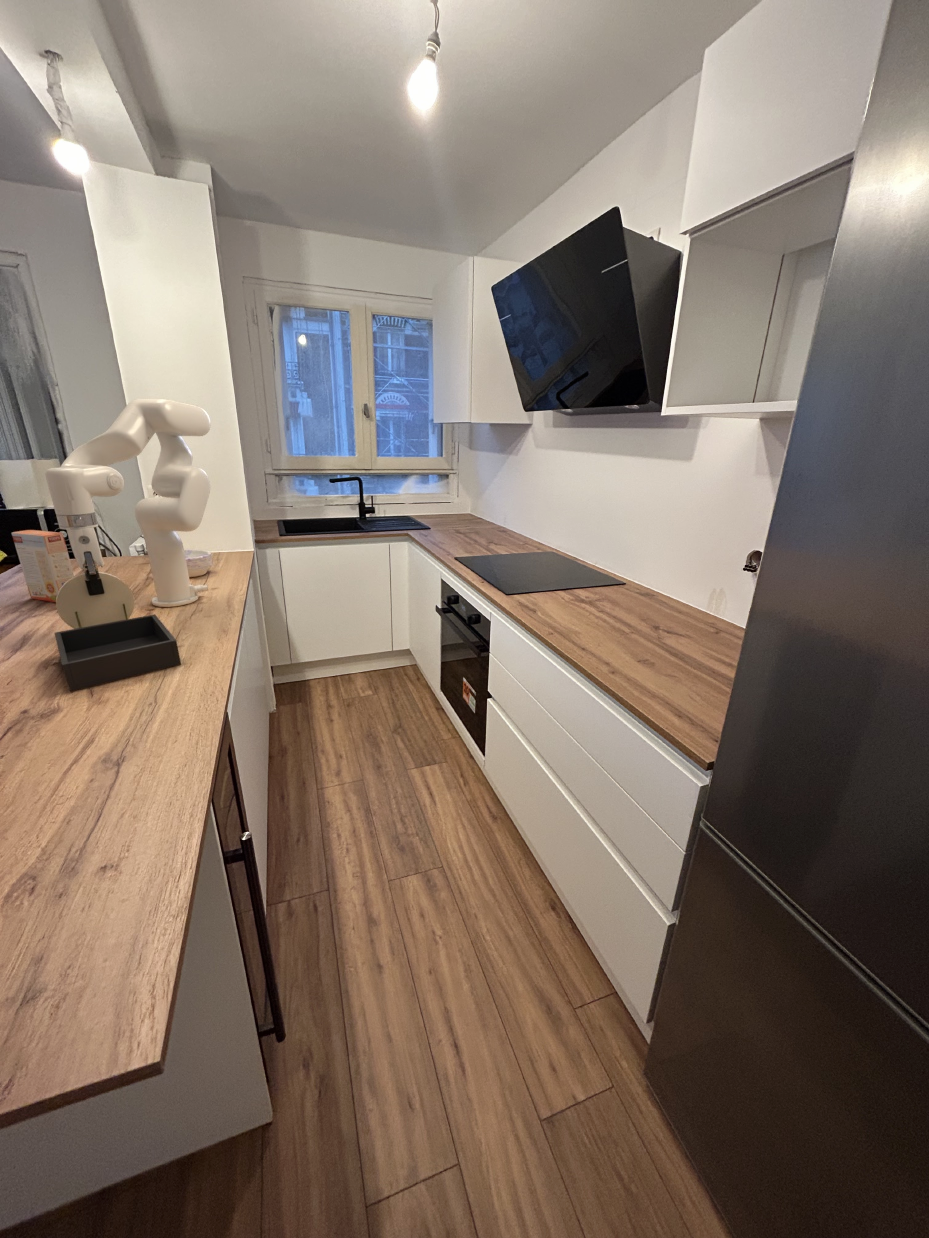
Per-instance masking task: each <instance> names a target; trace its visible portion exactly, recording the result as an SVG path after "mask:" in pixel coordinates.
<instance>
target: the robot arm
mask: <svg viewBox="0 0 929 1238" xmlns="http://www.w3.org/2000/svg"><path fill="white" fill-rule="evenodd" d="M211 424H212V422H211V418H210V416H209V414H208V413H207V412H206V410H205V409H204V408H203V407H201V406H198V405H195V404H190V403H185V402H181V401H177V400H173V399H167V398H166V399H165V398H136V399H133V400H131V401H130V402H128V403H127V404H126V406H125V407H124V408H123V409H122V411H121V412H120V413H119V415H118V416H117V417H116V419H115V420H114V421H113V422H112V424H111V425H110V426H109V428H108V429H107V430H106V431H104V432H103V433H101V434H99V435H96V436H95V437H93V438H91V439H89V440H88V441H86V442H85V443H83V444H80V445H79V446H78V447H76V448H75V449H74V450H73V451H71V453H69V455H67V457H66V458H65V459H64V461H63V462H62V463H61V465H60V467H51V468H48V469H47V470H45V473H44V474H45V479H46V483H47V486H48V490H49V491H48V492H49V494H50V498H51V502H52V505H53V509H54V512H55V515H56V520H57V524H58V528H59V529H60V530H66V533H67V536H68V540H69V544H70V547H71V550H72V553H73V556H74V558H75V561H76V563H77V565H78V567H79V568H80V569H81V570H82V572H83V573H85V577H86V580H85V582H86V586H87V589H88V593H89V595H90V596H93V595H100V594H104V588H103V584H102V580H101V578H100V576H99V572H100V571H99V567H101V568H105V563H104V559H103V555H102V551H101V548H100V543H99V540H98V536H97V533H96V531H95V528H97V527H99V522H98V518H97V515H96V510H95V506H94V503H93V502H94V501H93V497H101V498H103V497H104V498H108V497H110V498H111V497H114V496H117V495H119V494H120V493H121V492H122V491H123V490H124V488H125V480H124V479H125V478H124V477H123V475H122V474H121V472H119V471H118V470H116V469H115V468H113V467H111V466H110V465H114V464H116V463H121V462H125V461H128V460H131V459H134V458H136V457H138V456H140V455H141V453H142V452H143V451H144V449H145V448H146V446H147V445H148V443H149V442H150V441H151V439H152V438H153V437H154V435H156V436H157V439H158V442H159V444H160V452H159V456H158V459H157V462H156V465H155V468H154V470H153V474H152V477H151V482H150V483H151V489H152V490H153V492H154V493H155V494H156V495H158V496H151V497H145V498H142V499H140V500H139V501H138V502H137V503H136V504H135V507H134V516H135V521H136V522H137V524H138V526H139V529H140V531H141V533H142V536H143V540H144V543H145V549H146V552H147V557H148V561H149V566H150V571H151V576H152V580H153V585H154V586H153V587H154V590H155V595H156V596H155V597H153V598H152V599H151V604H152V605H153V606H155V607H162V608H171V607H180V606H184V605H185V606H186V605H188V604H191V603H195V602H196V601H198V600H199V594H198V593H201V592H209V587H208V584H203V585H202V584H196V585H193V584H192V583H191V580H190V577H189V574H188V569H187V563H186V558H185V553H184V550H185V547H184V543H183V541H182V539H181V537H180V535H179V534H178V532H186V533H187V532H193V531H196V530H197V529H198V528H199V527H200V525H201V522H202V520H203V517H204V513H205V511H206V507H207V503H208V500H209V497H210V492H211V481H210V478H209V476H208V474H207V472H206V471H205V470H204V469H203V468H200V467H198V466H194V465H192V464H193V459H194V458H193V453H192V451H191V449H190V448H189V446H188V444H187V443H186V441H185V440H184V438H183V437H203V436H206V435H208V433H209V432H210V430H211V426H212V425H211Z"/></svg>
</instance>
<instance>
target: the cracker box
mask: <svg viewBox="0 0 929 1238" xmlns="http://www.w3.org/2000/svg"><path fill="white" fill-rule="evenodd" d="M11 537H12V540H13V543H14V546H15V550H16V553H17V556H18V560H19V563H20V566H21V570H22V574H23V577H24V580H25V584H26V587H27V591H28V593H29V597H30V599H33V600H39V601H45V602H51V603H56V597H57V594H58V592H59V590H60V588H61V587H62V586H63V584H64V583H65V582H67V581H68V580H69V579H71V578H72V577H75V575H74V571H73V570H74V569H73V567H72V563H71V559H70V555H69V552H68V548H67V544H66V540H65V535H64V533H63V532H56V531H47V530H38V529H37V530H36V529H25V530H19V531H18V530H17V531H13V532H11Z"/></svg>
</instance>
